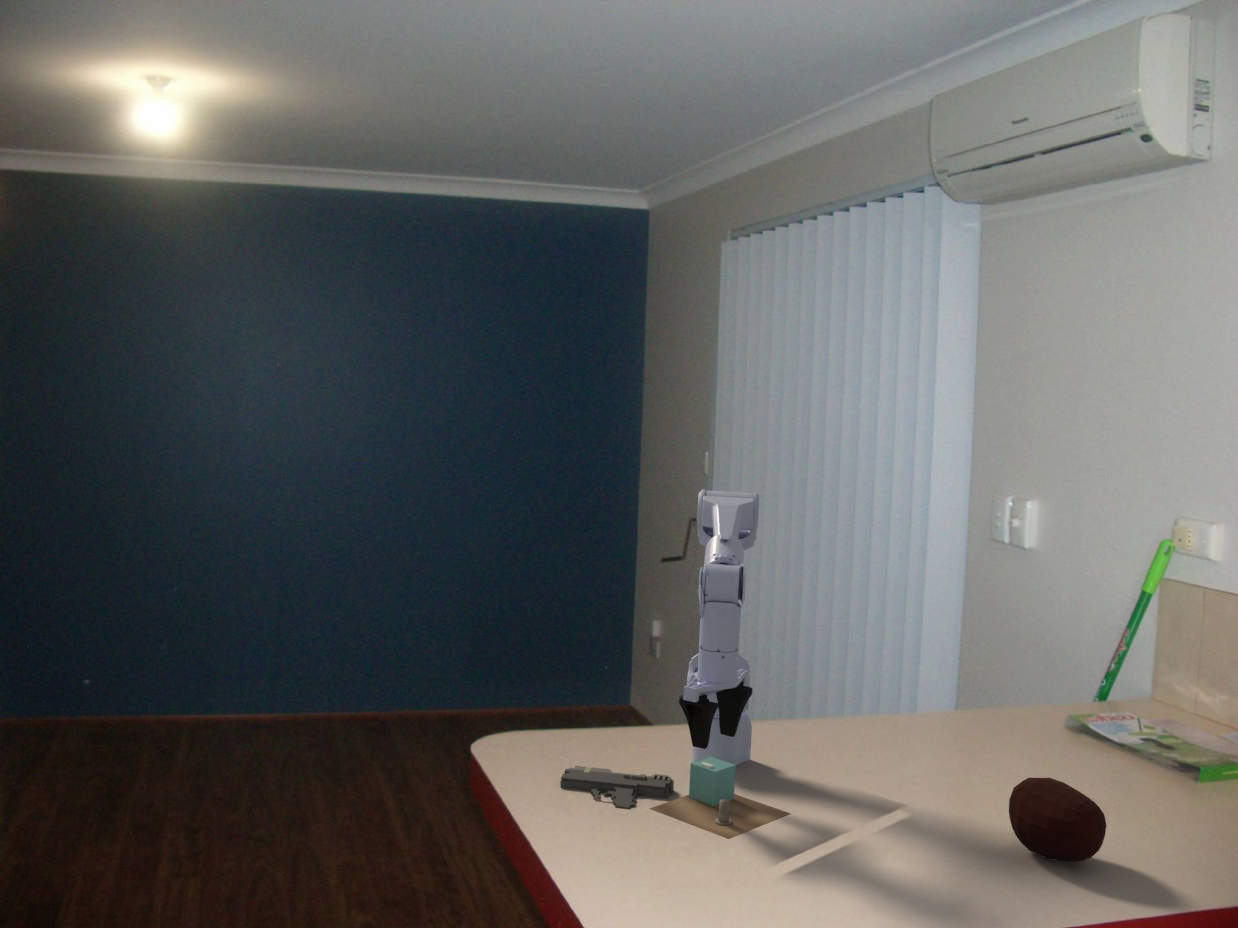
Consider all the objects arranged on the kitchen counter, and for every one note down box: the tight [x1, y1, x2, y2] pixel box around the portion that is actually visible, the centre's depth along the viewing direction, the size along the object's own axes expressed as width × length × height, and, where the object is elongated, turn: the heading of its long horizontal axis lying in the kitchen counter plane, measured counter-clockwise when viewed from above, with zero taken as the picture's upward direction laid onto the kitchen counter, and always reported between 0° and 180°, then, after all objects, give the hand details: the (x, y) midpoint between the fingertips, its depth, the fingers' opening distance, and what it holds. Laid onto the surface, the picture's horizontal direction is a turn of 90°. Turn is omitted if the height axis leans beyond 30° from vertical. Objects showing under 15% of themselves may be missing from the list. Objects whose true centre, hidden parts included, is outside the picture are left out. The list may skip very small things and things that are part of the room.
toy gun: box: [559, 765, 675, 810], centre depth 174 cm, size 4×16×10 cm
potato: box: [1008, 777, 1107, 863], centre depth 159 cm, size 11×13×10 cm
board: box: [649, 793, 792, 840], centre depth 169 cm, size 14×14×4 cm
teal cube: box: [688, 757, 737, 806], centre depth 173 cm, size 5×5×5 cm
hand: (713, 740), depth 173 cm, fingers open, 7 cm apart
